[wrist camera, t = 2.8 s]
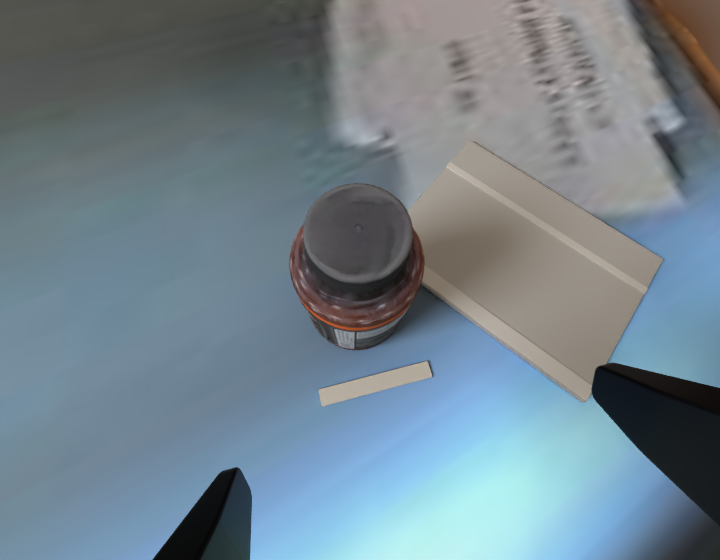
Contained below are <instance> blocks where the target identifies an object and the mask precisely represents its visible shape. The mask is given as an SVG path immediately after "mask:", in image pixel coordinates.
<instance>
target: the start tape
mask: <svg viewBox="0 0 720 560" xmlns="http://www.w3.org/2000/svg"><path fill="white" fill-rule="evenodd" d="M430 377H432V374H431V370H430V367H429V364H428V361H425V362H421V363H418V364H414V365H410V366H406V367H402V368H399V369H395V370H391V371H387V372H383V373H380V374H376V375H372V376H368V377H364V378H361V379H357V380H353V381H349V382H346V383H342V384H338V385H334V386H330V387H327V388H323V389H319V395H320V399H321V404H322V406H326V405H330V404H333V403H337V402H341V401H345V400H348V399H352V398H356V397H359V396H363V395H367V394H371V393H374V392H378V391H382V390H385V389H389V388H393V387H397V386H400V385H404V384H408V383H412V382H415V381H419V380H423V379H426V378H430Z"/></svg>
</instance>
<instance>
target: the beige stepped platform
mask: <svg viewBox="0 0 720 560" xmlns="http://www.w3.org/2000/svg"><path fill="white" fill-rule="evenodd" d="M408 214H409V216H410V218H411V221H412V227H413V228H414V230H415V231H416V232H417V234H418V236H419V239H420V241H421V244H422V248H423V252H424V260H425V265H424V274H423V279H422V282H421V285H422V286H423V287H425V288H426V289H428V290H429V291H430V292H432V293H433V294H434V295H436V296H437V297H438V298H440V299H441V300H443V301H444V302H445V303H447V304H448V305H449V306H451V307H452V308H453V309H455V310H456V311H458V312H459V313H460V314H462V315H463V316H464V317H466V318H467V319H468V320H470V321H471V322H472V323H474V324H475V325H477V326H478V327H479V328H481V329H482V330H483V331H485V332H486V333H487V334H489V335H490V336H492V337H493V338H494V339H496V340H497V341H498V342H500V343H501V344H502V345H504V346H505V347H507V348H508V349H509V350H511V351H512V352H513V353H515V354H516V355H517V356H519V357H520V358H522V359H523V360H524V361H526V362H527V363H528V364H530V365H531V366H532V367H534V368H535V369H537V370H538V371H539V372H541V373H542V374H543V375H545V376H546V377H547V378H549V379H550V380H551V381H553V382H554V383H556V384H557V385H558V386H560V387H561V388H562V389H564V390H565V391H566V392H568V393H569V394H571V395H572V396H573V397H575V398H576V399H577V400H579V401H580V402H586V401H587V400H588V398H589V396H590V394H591V392H592V391H591V389H592V383H593V378H594V373H595V369H596V368H597V367H598V366H600V365H604V364H606V363H607V361H608V360H609V358H610V356H611V354H612V352H613V350H614V349H615V347H616V345H617V343H618V341H619V339H620V338H621V336H622V334H623V332H624V330H625V328H626V327H627V325H628V323H629V321H630V319H631V317H632V316H633V314H634V312H635V310H636V308H637V306H638V305H639V303H640V301H641V299H642V297H643V295H644V294H645V293H646V291H647V289H648V286H649V284H650V283H651V281H652V279H653V277H654V275H655V273H656V272H657V270H658V268H659V266H660V264H661V262H662V261H663V259H662V258H660V257H659V256H657V255H656V254H654V253H652V252H651V251H649V250H647V249H646V248H644V247H643V246H641V245H639V244H638V243H636V242H634V241H633V240H631V239H630V238H628V237H626V236H625V235H623V234H621V233H620V232H618V231H616V230H615V229H613V228H612V227H610V226H608V225H607V224H605V223H603V222H602V221H600V220H599V219H597V218H595V217H594V216H592V215H590V214H589V213H587V212H586V211H584V210H582V209H581V208H579V207H577V206H576V205H574V204H573V203H571V202H569V201H568V200H566V199H564V198H563V197H561V196H560V195H558V194H556V193H555V192H553V191H551V190H550V189H548V188H547V187H545V186H543V185H542V184H540V183H538V182H537V181H535V180H534V179H532V178H530V177H529V176H527V175H525V174H524V173H522V172H521V171H519V170H517V169H516V168H514V167H512V166H511V165H509V164H508V163H506V162H504V161H503V160H501V159H499V158H498V157H496V156H495V155H493V154H491V153H490V152H488V151H486V150H485V149H483V148H481V147H480V146H478V145H477V144H475V143H473V142H472V141H470V140H469V141H468V142H467V144H466V145H465V146H464V147H463V148H462V149H461V150H460V152H459V153H458V154H457V155H456V156H455V157H454V159H453V160H452V161H451V162H450V163H449V164H448V165H447V166H446V168H445V169H444V170H443V171H442V172H441V174H440V175H439V176H438V177H437V178H436V179H435V181H434V182H433V183H432V184H431V185H430V186H429V187H428V189H427V190H426V191H425V192H424V193H423V194H422V196H421V197H420V198H419V199H418V200H417V201H416V203H415V204H414V205H413V206H412V207H411V208H410V209H409V211H408Z"/></svg>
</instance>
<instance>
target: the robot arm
mask: <svg viewBox="0 0 720 560" xmlns="http://www.w3.org/2000/svg"><path fill="white" fill-rule="evenodd" d="M591 391H592V395H593V397H594V399H595V400H596V402H597V403H598V404H599V405H600V406H601V407H602V409H603V410H604V411H605V412H606V413H607V414H608V415H609V417H610V418H611V419H612V420H613V421H614V422H615V423H616V424H617V426H618V427H619V428H620V429H621V430H622V431H623V432H624V433H625V435H626V436H627V437H628V438H629V439H630V440H631V441H632V442H633V444H634V445H635V446H636V447H637V448H638V449H639V450H640V451H641V452H642V453H643V454H644V455H645V456H646V457H647V458H648V459H649V460H650V461H651V462H652V463H653V464H654V465H655V466H657V467H658V468H659V469H660V470H661V471H662V472H663V473H664V474H665V475H666V476H667V477H668V478H669V479H670V480H671V481H672V482H673V483H674V484H675V485H676V486H678V487H679V488H680V489H681V490H682V491H683V492H684V493H685V494H686V495H687V496H688V497H689V498H690V499H691V500H692V501H693V502H694V503H695V504H696V505H697V506H699V507H700V508H701V509H702V510H703V511H704V512H705V513H706V514H707V515H708V516H709V517H710V518H711V519H712V520H713V521H714V522H715V523H716V524H717V525H719V526H720V388H717V387H713V386H709V385H705V384H701V383H696V382H692V381H688V380H684V379H680V378H676V377H671V376H667V375H663V374H659V373H655V372H651V371H646V370H642V369H638V368H634V367H630V366H626V365H621V364H617V363H608V364H604V365H600V366H598V367H597V368H596V369H595V373H594V378H593V383H592V389H591ZM251 512H252V495H251V490H250V487H249V485H248V483H247V481H246V479H245V477H244V475H243V473H242V471H241V470H240V469H239V468H238V467H235V468H232V469H228V470H225V471H222V472H220V473H219V474H218V476H217V477H216V478H215V479H214V481H213V482H212V483H211V485H210V486H209V487H208V489H207V490H206V491H205V492H204V494H203V495H202V496H201V498H200V499H199V500H198V501H197V503H196V504H195V505H194V507H193V508H192V509H191V511H190V512H189V513H188V514H187V516H186V517H185V518H184V520H183V521H182V522H181V523H180V525H179V526H178V527H177V529H176V530H175V531H174V533H173V534H172V535H171V536H170V538H169V539H168V540H167V542H166V543H165V544H164V545H163V547H162V548H161V549H160V551H159V552H158V553H157V555H156V556H155V557H154V558H153V560H250V542H251Z"/></svg>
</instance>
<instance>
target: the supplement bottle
mask: <svg viewBox="0 0 720 560" xmlns="http://www.w3.org/2000/svg"><path fill="white" fill-rule="evenodd" d="M289 261H290V263H289V268H290V273H291V279H292V282H293V285H294V288H295V290H296V292H297V294H298V296H299V298H300V300H301V302H302V304H303V305H304V307H305V309H306V310H307V312H308V314H309V316H310V318H311V319H312V322H313V323H314V325H315V327H316V328H317V329H318V331H319V332H320V333H321V335H322V336H323V337H324V338H326V339H327V340H328V341H329V342H331V343H332V344H334V345H336V346H338V347H341V348H344V349H348V350H364V349H368V348H371V347H374V346H376V345H378V344H380V343H381V342H383V341H384V340H386V339H387V338H388V337H389V336H390V335H391V334H392V332H393V331H394V330H395V329H396V327H397V325H398V324H399V322H400V321H401V319H402V317H403V316H404V314H405V313H406V311H407V310H408V308H409V306H410V305H411V303H412V301H413V300H414V298H415V296H416V294H417V292H418V290H419V288H420V285H421V282H422V279H423V274H424V265H425V260H424V252H423V248H422V244H421V241H420V239H419V236H418V234H417V232H416V231H415V230H414V228H413V227H412V221H411V218H410V216H409V214H408V212H407V210H406V208H405V207H404V205H403V204H402V203H401V202H400V201H399V200H398V199H397V198H396V197H395V196H394V195H392V194H391V193H389V192H388V191H386V190H384V189H381V188H379V187H376V186H373V185H369V184H356V183H354V184H347V185H342V186H339V187H336V188H334V189H331V190H330V191H328V192H326V193H325V194H323V195H322V196H321V197H320V198H318V199H317V200H316V201H315V202H314V203H313V205H312V206H311V208H310V209H309V211H308V213H307V215H306V218H305V221H304V224H303V226H302V227H301V228H300V230H299V231H298V233H297V235H296V237H295V239H294V241H293V244H292V247H291V253H290V260H289Z"/></svg>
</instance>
